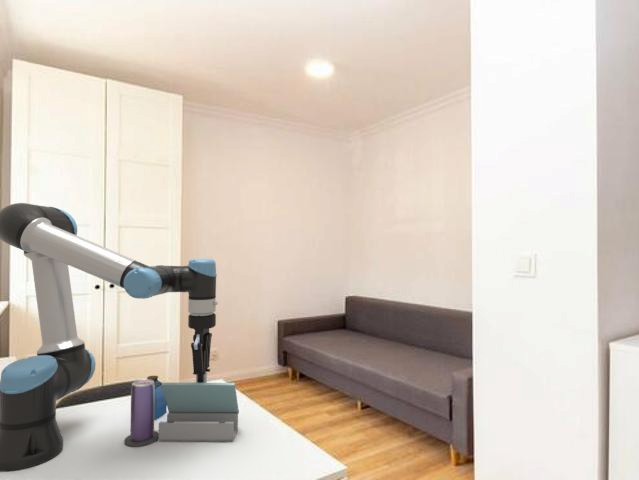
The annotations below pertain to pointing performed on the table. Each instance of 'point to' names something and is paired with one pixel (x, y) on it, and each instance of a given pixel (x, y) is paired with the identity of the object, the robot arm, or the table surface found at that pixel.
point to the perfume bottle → (158, 399)
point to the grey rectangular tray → (199, 427)
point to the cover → (200, 397)
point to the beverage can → (142, 410)
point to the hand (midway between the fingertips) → (201, 396)
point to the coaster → (131, 443)
